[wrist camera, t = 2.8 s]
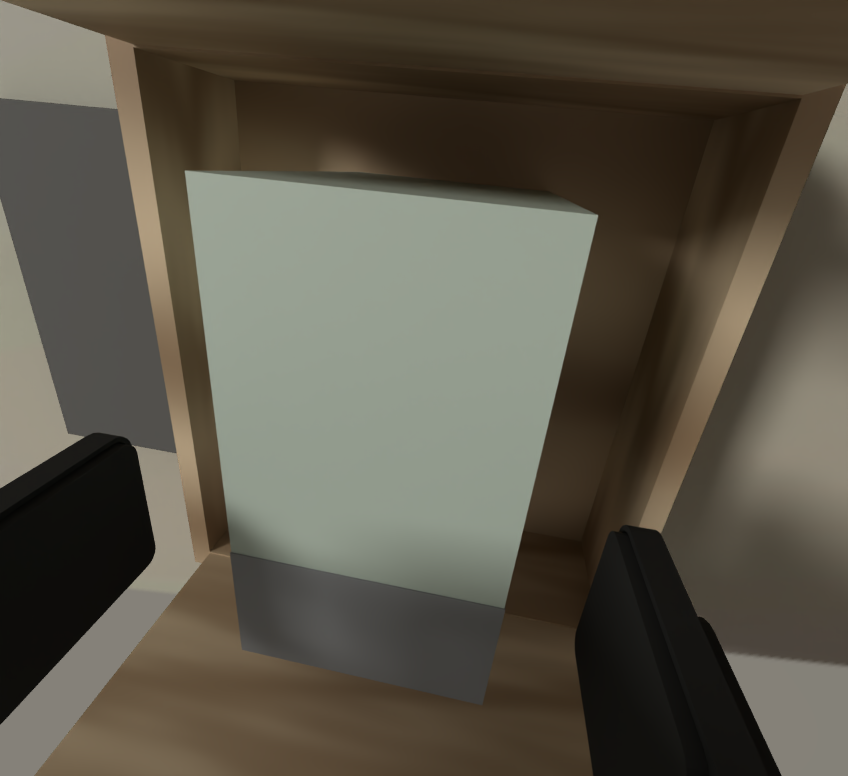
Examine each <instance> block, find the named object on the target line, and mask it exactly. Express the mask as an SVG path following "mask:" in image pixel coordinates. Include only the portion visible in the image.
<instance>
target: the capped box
mask: <svg viewBox="0 0 848 776" xmlns="http://www.w3.org/2000/svg"><path fill="white" fill-rule="evenodd" d="M185 177H186V185H187V193H188V201H189V210H190V218H191V226H192V234H193V242H194V251H195V259H196V267H197V275H198V283H199V292H200V300H201V308H202V316H203V324H204V332H205V341H206V349H207V357H208V365H209V373H210V382H211V390H212V398H213V406H214V414H215V423H216V431H217V439H218V447H219V455H220V464H221V472H222V480H223V488H224V496H225V505H226V513H227V521H228V529H229V537H230V546H231V552H230V558H231V566H232V574H233V582H234V590H235V598H236V606H237V614H238V623H239V631H240V639H241V647H242V650H245V651H249V652H254V653H258V654H262V655H266V656H271V657H275V658H279V659H284V660H288V661H292V662H297V663H301V664H305V665H310V666H314V667H318V668H323V669H327V670H331V671H336V672H340V673H344V674H349V675H353V676H357V677H362V678H366V679H370V680H375V681H379V682H383V683H388V684H392V685H396V686H401V687H405V688H409V689H414V690H418V691H422V692H427V693H431V694H435V695H440V696H444V697H448V698H453V699H457V700H461V701H465V702H470V703H474V704H478V705H483V700H484V696H485V692H486V688H487V684H488V680H489V675H490V671H491V667H492V663H493V659H494V655H495V651H496V646H497V642H498V638H499V634H500V630H501V626H502V621H503V617H504V613H505V603H506V599H507V595H508V591H509V587H510V583H511V578H512V574H513V570H514V566H515V562H516V557H517V553H518V549H519V545H520V541H521V537H522V532H523V528H524V524H525V520H526V516H527V511H528V507H529V503H530V499H531V495H532V490H533V486H534V482H535V478H536V474H537V470H538V465H539V461H540V457H541V453H542V449H543V444H544V440H545V436H546V432H547V428H548V424H549V419H550V415H551V411H552V407H553V403H554V398H555V394H556V390H557V386H558V382H559V377H560V373H561V369H562V365H563V361H564V357H565V352H566V348H567V344H568V340H569V336H570V331H571V327H572V323H573V319H574V315H575V311H576V306H577V302H578V298H579V294H580V290H581V285H582V281H583V277H584V273H585V269H586V264H587V260H588V256H589V252H590V248H591V244H592V239H593V235H594V231H595V227H596V223H597V218H598V215H597V214H595V213H593V212H591V211H589V210H586V209H584V208H582V207H580V206H578V205H576V204H574V203H572V202H570V201H568V200H566V199H564V198H562V197H560V196H558V195H556V194H554V193H551V192H549V191H539V190H530V189H520V188H510V187H501V186H491V185H481V184H472V183H462V182H453V181H443V180H433V179H424V178H414V177H404V176H395V175H385V174H375V173H366V172H329V171H185Z"/></svg>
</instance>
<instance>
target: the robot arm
mask: <svg viewBox="0 0 848 776" xmlns="http://www.w3.org/2000/svg"><path fill="white" fill-rule="evenodd" d="M154 554H155V541H154V536H153V531H152V526H151V521H150V516H149V511H148V506H147V501H146V495H145V490H144V485H143V480H142V475H141V470H140V465H139V460H138V455H137V451H136V449H135V448H134V447H133V446H132V445H131V442H130V441H129V440H128V439H127V438H125V437H122V436H116V435H110V434H105V433H92V434H90V435H88V436H86V437H84V438H83V439H81V440H79V441H78V442H76V443H74V444H73V445H71V446H70V447H68V448H66V449H65V450H63V451H61V452H60V453H58V454H56V455H55V456H53V457H51V458H50V459H48V460H46V461H45V462H43V463H42V464H40V465H38V466H37V467H35V468H33V469H32V470H30V471H28V472H27V473H25V474H23V475H22V476H20V477H18V478H17V479H15V480H14V481H12V482H10V483H9V484H7V485H5V486H4V487H2V488H0V724H1V723H2V722H3V721H4V720H5V719H6V718H7V717H8V716H9V715H10V714H11V713H12V711H13V710H14V709H15V708H16V707H17V706H18V705H19V704H20V703H21V702H22V701H23V700H24V699H25V698H26V696H27V695H28V694H29V693H30V692H31V691H32V690H33V689H34V688H35V687H36V686H37V685H38V683H40V681H41V680H42V679H43V678H44V677H45V676H46V675H47V674H48V673H49V672H50V671H51V670H52V669H53V667H54V666H55V665H56V664H57V663H58V662H59V661H60V660H61V659H62V658H63V657H64V656H65V655H66V653H67V652H68V651H69V650H70V649H71V648H72V647H73V646H74V645H75V644H76V643H77V642H78V641H79V640H80V638H81V637H82V636H83V635H84V634H85V633H86V632H87V631H88V630H89V629H90V628H91V627H92V625H93V624H94V623H95V622H96V621H97V620H98V619H99V618H100V617H101V616H102V615H103V614H104V613H105V612H106V610H107V609H108V608H109V607H110V606H111V605H112V604H113V603H114V602H115V601H116V600H117V599H118V597H120V595H121V594H122V593H123V592H124V591H125V590H126V589H127V588H128V587H129V586H130V585H131V584H132V583H133V581H134V580H135V579H136V578H137V577H138V576H139V575H140V574H141V573H142V572H143V571H144V570H145V569H146V567H147V566H148V565H149V564H150V563H151V561H152V559H153V557H154ZM575 657H576V664H577V670H578V677H579V684H580V690H581V697H582V704H583V710H584V717H585V724H586V730H587V737H588V744H589V751H590V757H591V764H592V771H593V776H781V774H780V772H779V769H778V767H777V765H776V763H775V761H774V759H773V757H772V754H771V752H770V750H769V748H768V746H767V744H766V741H765V739H764V738H763V735H762V733H761V731H760V729H759V726H758V724H757V722H756V720H755V718H754V716H753V714H752V711H751V709H750V707H749V705H748V703H747V701H746V699H745V696H744V694H743V692H742V690H741V688H740V686H739V684H738V681H737V679H736V677H735V675H734V673H733V671H732V669H731V666H730V665H729V662H728V660H727V658H726V656H725V654H724V651H723V649H722V647H721V645H720V643H719V641H718V639H717V636H716V634H715V632H714V631H713V629H712V627H711V626H710V624H709V623H708V622H707V621H706V620H705V619H704V618H701V617H698V616H697V614H696V612H695V610H694V607H693V605H692V603H691V601H690V598H689V596H688V594H687V592H686V589H685V587H684V585H683V583H682V580H681V578H680V576H679V574H678V571H677V569H676V567H675V565H674V562H673V560H672V558H671V556H670V553H669V551H668V549H667V547H666V544H665V542H664V540H663V538H662V536H661V534H660V532H658V531H657V530H653V529H647V528H641V527H636V526H630V525H623V526H622V527H621V528H620V530H619V532H617V531H611V532H610V533H609V535H608V537H607V540H606V543H605V546H604V549H603V552H602V555H601V558H600V561H599V564H598V567H597V570H596V573H595V576H594V579H593V582H592V585H591V588H590V591H589V594H588V597H587V600H586V603H585V606H584V609H583V612H582V615H581V618H580V621H579V624H578V627H577V630H576V634H575Z"/></svg>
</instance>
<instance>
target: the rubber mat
mask: <svg viewBox="0 0 848 776" xmlns="http://www.w3.org/2000/svg"><path fill="white" fill-rule="evenodd" d="M0 199H1V202H2V206H3V209H4V213H5V216H6V219H7V223H8V226H9V230H10V233H11V237H12V240H13V244H14V247H15V251H16V254H17V258H18V261H19V265H20V268H21V272H22V275H23V278H24V282H25V285H26V289H27V292H28V296H29V299H30V303H31V306H32V310H33V313H34V317H35V320H36V324H37V327H38V330H39V334H40V337H41V341H42V344H43V348H44V351H45V355H46V358H47V362H48V365H49V369H50V372H51V376H52V379H53V383H54V386H55V389H56V393H57V396H58V400H59V403H60V407H61V410H62V414H63V417H64V421H65V424H66V428H67V431H68V433H69V434H74V435H80V436H85V437H86V436H88V435H90V434H92V433H105V434H110V435H116V436H122V437H125V438H127V439H128V440H129V441H130V442H131V445H134V446H140V447H145V448H151V449H156V450H162V451H167V452H172V453H177V451H176V445H175V439H174V433H173V428H172V422H171V416H170V410H169V404H168V399H167V393H166V387H165V381H164V375H163V370H162V364H161V358H160V352H159V346H158V340H157V335H156V329H155V323H154V317H153V311H152V306H151V300H150V294H149V288H148V282H147V276H146V271H145V265H144V259H143V253H142V247H141V242H140V236H139V230H138V224H137V218H136V213H135V207H134V201H133V195H132V189H131V183H130V178H129V172H128V166H127V160H126V154H125V149H124V143H123V137H122V131H121V125H120V119H119V114H118V109H109V108H98V107H87V106H77V105H66V104H55V103H45V102H34V101H23V100H13V99H2V98H0Z"/></svg>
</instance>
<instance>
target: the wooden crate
mask: <svg viewBox="0 0 848 776" xmlns="http://www.w3.org/2000/svg"><path fill="white" fill-rule="evenodd" d="M2 1H5V2H8V3H11V4H14V5H17V6H20V7H23V8H26V9H29V10H32V11H35V12H38V13H41V14H44V15H47V16H50V17H53V18H56V19H59V20H62V21H65V22H68V23H71V24H74V25H77V26H80V27H83V28H86V29H89V30H92V31H95V32H98V33H101V34H104V35H105V38H106V44H107V50H108V56H109V61H110V67H111V73H112V79H113V85H114V90H115V96H116V102H117V108H118V114H119V119H120V125H121V131H122V137H123V143H124V149H125V154H126V160H127V166H128V172H129V178H130V183H131V189H132V195H133V201H134V207H135V213H136V218H137V224H138V230H139V236H140V242H141V247H142V253H143V259H144V265H145V271H146V276H147V282H148V288H149V294H150V300H151V306H152V311H153V317H154V323H155V329H156V335H157V340H158V346H159V352H160V358H161V364H162V370H163V375H164V381H165V387H166V393H167V399H168V404H169V410H170V416H171V422H172V428H173V433H174V439H175V445H176V451H177V457H178V463H179V468H180V474H181V480H182V486H183V492H184V497H185V503H186V509H187V515H188V521H189V527H190V532H191V538H192V544H193V550H194V556H195V561H196V562H200V563H202V564H201V565H200V566H199V568H198V569H197V570H196V571H195V573H194V574H193V575H192V576H191V578H190V579H189V580H188V581H187V583H186V584H185V585H184V587H183V588H182V589H181V590H180V592H179V593H178V594H177V595H176V597H175V598H174V599H173V600H172V602H171V603H170V605H169V606H168V607H167V608H166V609H165V611H164V612H163V613H162V614H161V616H160V617H159V618H158V620H157V621H156V622H155V623H154V625H153V626H152V627H151V628H150V630H149V631H148V632H147V633H146V635H145V636H144V637H143V639H142V640H141V641H140V642H139V644H138V645H137V646H136V647H135V649H134V650H133V651H132V652H131V654H130V655H129V656H128V658H127V659H126V660H125V661H124V663H123V664H122V665H121V667H120V668H119V669H118V670H117V672H116V673H115V674H114V675H113V677H112V678H111V679H110V680H109V682H108V683H107V684H106V685H105V687H104V688H103V689H102V691H101V692H100V693H99V694H98V696H97V697H96V698H95V700H94V701H93V702H92V704H91V705H90V706H89V707H88V708H87V710H86V711H85V712H84V713H83V715H82V716H81V717H80V718H79V720H78V721H77V722H76V724H75V725H74V726H73V728H72V729H71V730H70V731H69V732H68V734H67V735H66V736H65V738H64V739H63V740H62V741H61V743H60V744H59V745H58V746H57V748H56V749H55V750H54V751H53V753H52V754H51V755H50V757H49V758H48V759H47V760H46V762H45V763H44V764H43V766H42V767H41V768H40V769H39V770H38V772H37V773H36V774H35V776H593V771H592V764H591V757H590V751H589V744H588V737H587V730H586V724H585V717H584V710H583V704H582V697H581V690H580V684H579V677H578V670H577V664H576V657H575V634H576V630H577V627H578V624H579V621H580V618H581V615H582V612H583V609H584V606H585V603H586V600H587V597H588V594H589V591H590V588H591V585H592V582H593V579H594V576H595V573H596V570H597V567H598V564H599V561H600V558H601V555H602V552H603V549H604V546H605V543H606V540H607V537H608V535H609V533H610V532H611V531H617V532H619V530H620V528H621V527H622V526H623V525H630V526H636V527H641V528H647V529H653V530H657V531H658V532H660V534H661V532H662V530H663V528H664V525H665V523H666V520H667V518H668V515H669V513H670V511H671V508H672V506H673V503H674V501H675V498H676V496H677V494H678V491H679V489H680V486H681V484H682V481H683V479H684V477H685V474H686V472H687V469H688V467H689V464H690V462H691V460H692V457H693V455H694V452H695V450H696V447H697V445H698V443H699V440H700V438H701V435H702V433H703V431H704V428H705V426H706V423H707V421H708V418H709V416H710V414H711V411H712V409H713V406H714V404H715V401H716V399H717V397H718V394H719V392H720V389H721V387H722V384H723V382H724V380H725V377H726V375H727V372H728V370H729V367H730V365H731V363H732V360H733V358H734V355H735V353H736V350H737V348H738V346H739V343H740V341H741V338H742V336H743V333H744V331H745V329H746V326H747V324H748V321H749V319H750V316H751V314H752V312H753V309H754V307H755V304H756V302H757V299H758V297H759V295H760V292H761V290H762V287H763V285H764V282H765V280H766V278H767V275H768V273H769V270H770V268H771V265H772V263H773V261H774V258H775V256H776V253H777V251H778V248H779V246H780V244H781V241H782V239H783V236H784V234H785V231H786V229H787V227H788V224H789V222H790V219H791V217H792V214H793V212H794V210H795V207H796V205H797V202H798V200H799V198H800V195H801V193H802V190H803V188H804V185H805V183H806V181H807V178H808V176H809V173H810V171H811V168H812V166H813V164H814V161H815V159H816V156H817V154H818V151H819V149H820V147H821V144H822V142H823V139H824V137H825V134H826V132H827V130H828V127H829V125H830V122H831V120H832V117H833V115H834V113H835V110H836V108H837V105H838V103H839V100H840V98H841V96H842V93H843V91H844V88H845V86H846V84H847V83H848V0H2ZM185 171H329V172H366V173H375V174H385V175H395V176H404V177H414V178H424V179H433V180H443V181H453V182H462V183H472V184H481V185H491V186H501V187H510V188H520V189H530V190H539V191H549V192H551V193H554V194H556V195H558V196H560V197H562V198H564V199H566V200H568V201H570V202H572V203H574V204H576V205H578V206H580V207H582V208H584V209H586V210H589V211H591V212H593V213H595V214H597V215H598V218H597V223H596V227H595V231H594V235H593V239H592V244H591V248H590V252H589V256H588V260H587V264H586V269H585V273H584V277H583V281H582V285H581V290H580V294H579V298H578V302H577V306H576V311H575V315H574V319H573V323H572V327H571V331H570V336H569V340H568V344H567V348H566V352H565V357H564V361H563V365H562V369H561V373H560V377H559V382H558V386H557V390H556V394H555V398H554V403H553V407H552V411H551V415H550V419H549V424H548V428H547V432H546V436H545V440H544V444H543V449H542V453H541V457H540V461H539V465H538V470H537V474H536V478H535V482H534V486H533V490H532V495H531V499H530V503H529V507H528V511H527V516H526V520H525V524H524V528H523V532H522V537H521V541H520V545H519V549H518V553H517V557H516V562H515V566H514V570H513V574H512V578H511V583H510V587H509V591H508V595H507V599H506V603H505V613H504V617H503V621H502V626H501V630H500V634H499V638H498V642H497V646H496V651H495V655H494V659H493V663H492V667H491V671H490V675H489V680H488V684H487V688H486V692H485V696H484V700H483V705H478V704H474V703H470V702H465V701H461V700H457V699H453V698H448V697H444V696H440V695H435V694H431V693H427V692H422V691H418V690H414V689H409V688H405V687H401V686H396V685H392V684H388V683H383V682H379V681H375V680H370V679H366V678H362V677H357V676H353V675H349V674H344V673H340V672H336V671H331V670H327V669H323V668H318V667H314V666H310V665H305V664H301V663H297V662H292V661H288V660H284V659H279V658H275V657H271V656H266V655H262V654H258V653H254V652H249V651H245V650H242V647H241V639H240V631H239V623H238V614H237V606H236V598H235V590H234V582H233V574H232V566H231V558H230V552H231V546H230V537H229V529H228V521H227V513H226V505H225V496H224V488H223V480H222V472H221V464H220V455H219V447H218V439H217V431H216V423H215V414H214V406H213V398H212V390H211V382H210V373H209V365H208V357H207V349H206V341H205V332H204V324H203V316H202V308H201V300H200V292H199V283H198V275H197V267H196V259H195V251H194V242H193V234H192V226H191V218H190V210H189V201H188V193H187V185H186V177H185Z"/></svg>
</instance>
